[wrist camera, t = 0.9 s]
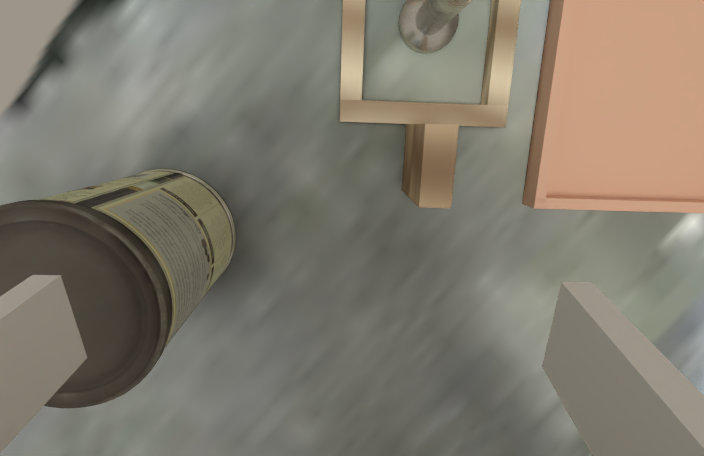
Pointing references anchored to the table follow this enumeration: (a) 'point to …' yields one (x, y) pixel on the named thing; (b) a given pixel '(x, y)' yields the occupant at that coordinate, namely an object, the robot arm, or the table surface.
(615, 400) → the robot arm
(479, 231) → the table surface
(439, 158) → the tan wooden piece
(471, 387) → the table surface
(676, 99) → the tray
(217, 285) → the table surface
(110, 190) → the coffee can
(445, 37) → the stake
